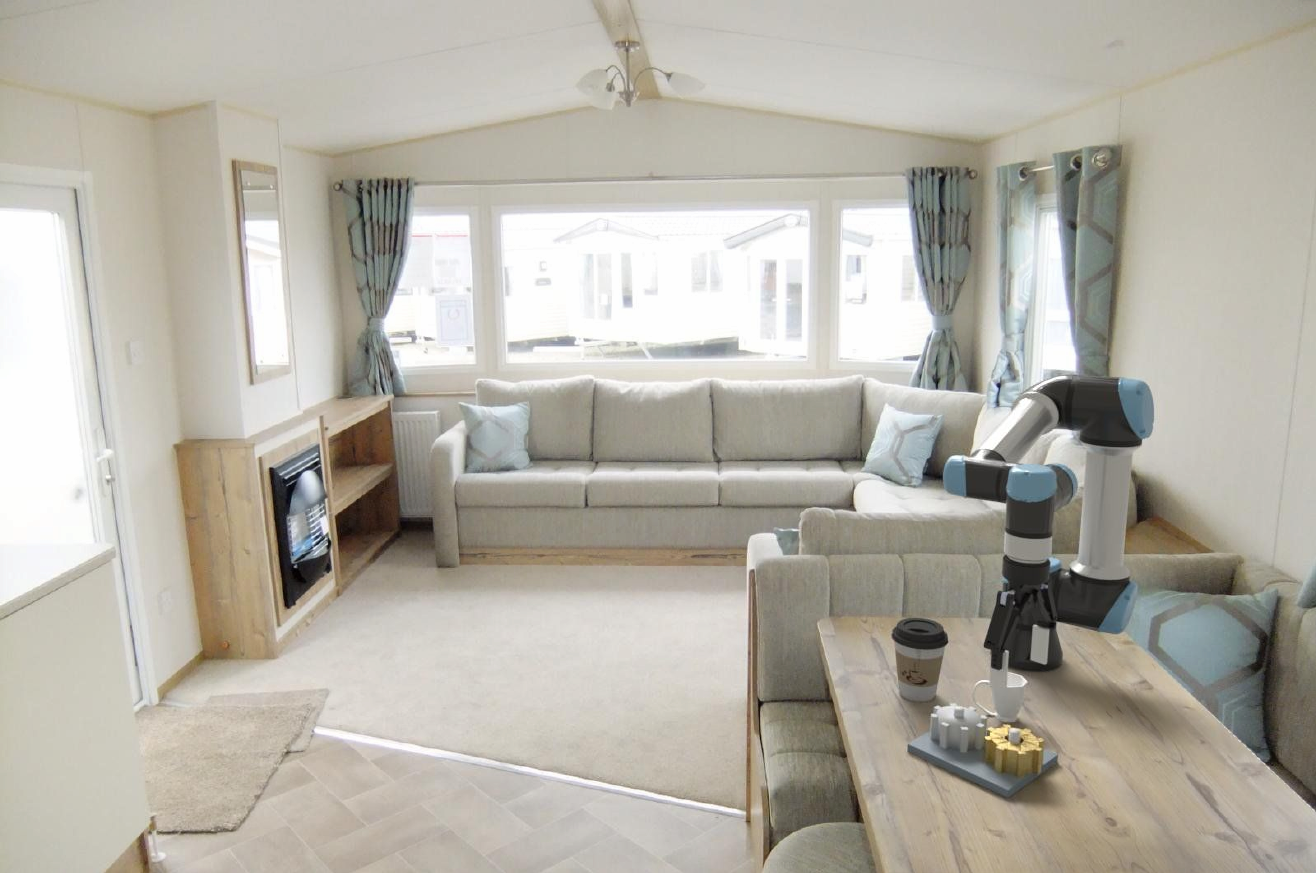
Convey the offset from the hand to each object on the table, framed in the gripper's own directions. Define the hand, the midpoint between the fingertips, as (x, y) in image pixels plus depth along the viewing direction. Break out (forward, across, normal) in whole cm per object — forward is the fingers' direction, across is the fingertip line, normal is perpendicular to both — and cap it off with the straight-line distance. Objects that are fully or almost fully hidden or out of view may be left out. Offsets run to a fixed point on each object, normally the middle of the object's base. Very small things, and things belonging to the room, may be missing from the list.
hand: (1018, 673), depth 162 cm
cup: (+19, -16, -12) cm, 27 cm away
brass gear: (+17, 0, 0) cm, 17 cm away
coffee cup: (+19, -12, -28) cm, 36 cm away
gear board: (+18, 0, -6) cm, 19 cm away
